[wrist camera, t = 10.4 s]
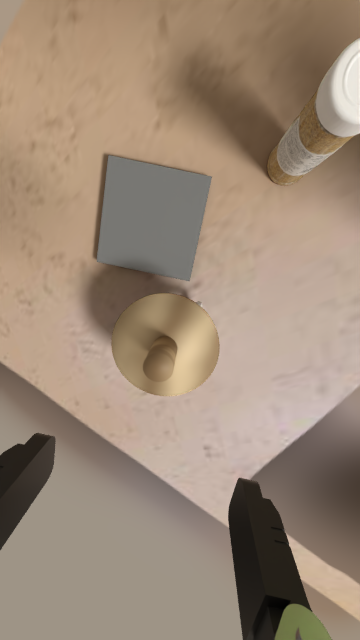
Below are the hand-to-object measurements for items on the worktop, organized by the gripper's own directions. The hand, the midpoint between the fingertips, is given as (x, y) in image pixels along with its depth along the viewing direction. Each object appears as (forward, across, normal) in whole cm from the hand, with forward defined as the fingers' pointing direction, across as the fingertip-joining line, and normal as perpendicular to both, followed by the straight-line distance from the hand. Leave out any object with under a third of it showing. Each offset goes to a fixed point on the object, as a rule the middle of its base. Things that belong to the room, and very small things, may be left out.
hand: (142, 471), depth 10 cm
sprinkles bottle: (+23, -8, -21) cm, 33 cm away
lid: (+17, +1, +1) cm, 17 cm away
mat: (+23, +6, -12) cm, 27 cm away
